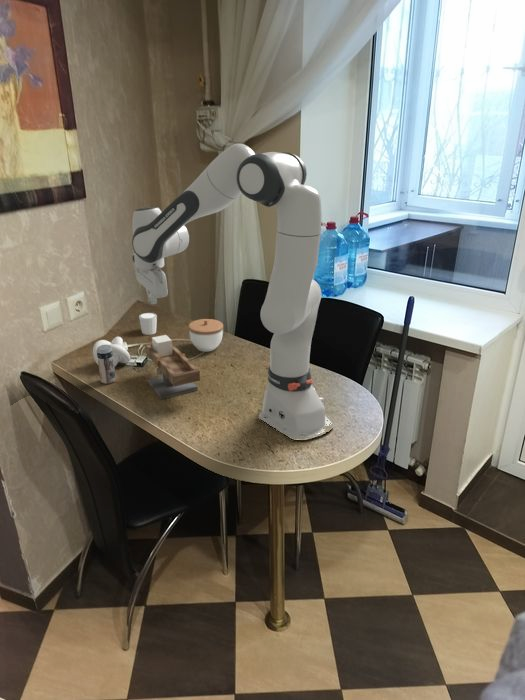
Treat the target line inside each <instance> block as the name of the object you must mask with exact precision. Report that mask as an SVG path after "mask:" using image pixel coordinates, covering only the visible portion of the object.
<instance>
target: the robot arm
mask: <svg viewBox="0 0 525 700" xmlns="http://www.w3.org/2000/svg"><path fill="white" fill-rule="evenodd" d="M306 181H307V168H306V165H305V163H304V161H303V160H302V159H301V158H300V157H299V156H297V155H296V154H294V153H291V152H276V151H270V152H269V151H268V152H263V153H255V151H254V150H253V149H252V148H250V147H249V146H248V145H246V144H244V143H234V144H232V145H230V146H229V147H227V148H226V149H225V150H223V151H222V152H221V153H219V154H218V155H217V156H216V157H215V158H214V159H213V160H212V161H211V162H210V163H209V164H208V165H207V167H205V169H204V170H202V172H201V173H200V174H199V176H197V178H196V179H195V180H194V181H193V182H192V183H190V185H189V186H188V187H186V189H184V190H183V192H182V193H181V194H179V196H178V197H176V199H174V200H172V202H171V203H170V204H169V205H168V206H167V207H165V208H164V209H163V211H162V210H161V209H160V207H157V206H147V207H141V208H137V209H135V210H134V211H133V214H132V221H131V222H132V225H131V226H132V228H131V229H132V240H131V243H132V245H131V246H132V249H133V252H134V253H132V254H131V261H132V262H133V267H134V273H135V279H136V281H137V282H138V284H140V285H141V286H142V287H144V288H145V291H146V294H147V297H148V298H147V299H148V300H147V301H148V302H149V303H150V304H151V305H157V303H158V299H162V298H166V297H168V294H169V291H168V281H167V276H166V273H165V272H164V271H163V270H162V269H163V268H164V267H165V258H167V257H171V256H175V255H176V254H180V253H182V252H184V251H185V250H187V249H188V248H189V245H190V241H191V240H190V239H191V237H190V232H189V229H188V227H187V226H186V225H187V224H189V223H190V222H192V221H194V220H197V219H199V218H203V217H206V216H210V215H213V214H216V213H219V212H221V211H223V210H224V209H226V208H228V207H229V206H231V205H232V204H233V203H234V202H235V201H236V200H238V199H239V198H240V196H241V195H244V196H245V197H246V198H248V199H250V200H251V201H255V202H256V203H258V204H259V203H260V204H261V205H263V206H265V207H267V208H271V207H274V208H275V209H276V212H277V213H276V214H277V223H276V225H277V226H276V234H275V235H276V236H275V249H274V260H273V265H272V266H273V267H272V269H271V270H272V271H271V274H270V277H269V282H268V287H267V292H266V295H265V299H264V302H263V304H262V305H261V309H260V320H261V322H262V325H263V326H264V328H265V329H266V330H268V331H269V332H270V333H273V335H272V338H271V341H270V351H269V352H270V353H269V366H268V368H267V381H268V383H267V386H266V388H265V390H264V392H263V393H264V394H263V401H262V409H261V411H260V413H259V414H258V419H259V420H260V419H261V420H263V421H264V422H266V423H267V424H269V425H270V426H272V427H274V428H276V429H277V430H279V431H281V432H282V433H284V434H286V435H287V436H289V437H291V438H293V439H305V438H309V437H313V436H316V435H318V434H320V433H323V432H325V431H324V430H325V429H323V427H325V426H329V424H330V423H331V424H333V422H332V421H331V420H330V419H329V418H328V417H327V414H326V407H325V406H324V404H325V399H324V397H322V396H319V395H318V393H317V391H316V389H315V387H314V385H313V383H315V382H314V380H315V378H312V373H311V370H310V369H311V368H310V357H311V356H310V355H311V348H312V347H311V345H312V341H313V340H312V338H313V336H314V331H315V326H316V321H317V319H318V318H317V317H318V311H319V306H320V303H321V299H322V288H321V287H320V284H319V283H318V282H317V281H316V280H314V278H313V277H314V275H315V271H316V269H317V267H318V261H319V254H320V253H319V252H320V243H321V235H322V234H321V233H322V202H321V195H320V194H319V192H318V190H316V189H315V188H313V187H312V186H310V185H307V184H305V183H306ZM261 420H260V421H261ZM327 420H328V421H327ZM263 421H262V422H263ZM264 422H263V423H264ZM266 423H265V424H266ZM267 424H266V425H267ZM326 424H327V425H326ZM331 424H330V425H331ZM269 425H268V426H269ZM270 426H269V427H270ZM272 427H271V428H272ZM274 428H273V429H274ZM277 430H276V431H277ZM301 436H304V437H301Z"/></svg>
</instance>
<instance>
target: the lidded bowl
mask: <svg viewBox="0 0 525 700" xmlns="http://www.w3.org/2000/svg"><path fill="white" fill-rule="evenodd" d="M188 331H189V333H188V334H189V338H190V341H191V344H192V345H193V346H194V347H195V348H196V349H197V350H198V351H200V352H205V353H206V352H213V351H215V350H216V349H217V348H218V346H219V345H220V344H221V342H222V341H223V334H224V324H223V322H222V321H220V320H218V319H217V320H216V319H215V318H214V319H212V318H210V319H209V318H202V319H201V318H199V319H196V320H193V321H191V322H190V323H189V324H188Z"/></svg>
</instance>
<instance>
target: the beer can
mask: <svg viewBox="0 0 525 700" xmlns="http://www.w3.org/2000/svg"><path fill="white" fill-rule="evenodd" d="M97 357H98V364H97V365H98V373H99V378H100V379H99V381H100V382H101V383H102V384H105V385H108V384H112V383H114V382H115V381H116V370H115V367H114V360H113V352H112V348H111V347H110V346H109V345H101V346H99V347H98V348H97Z"/></svg>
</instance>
